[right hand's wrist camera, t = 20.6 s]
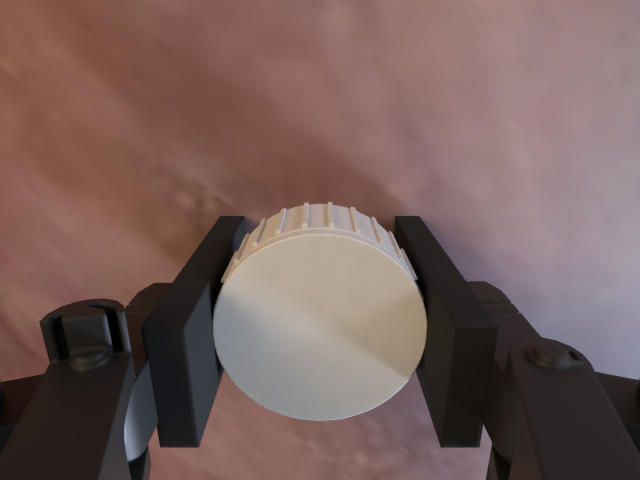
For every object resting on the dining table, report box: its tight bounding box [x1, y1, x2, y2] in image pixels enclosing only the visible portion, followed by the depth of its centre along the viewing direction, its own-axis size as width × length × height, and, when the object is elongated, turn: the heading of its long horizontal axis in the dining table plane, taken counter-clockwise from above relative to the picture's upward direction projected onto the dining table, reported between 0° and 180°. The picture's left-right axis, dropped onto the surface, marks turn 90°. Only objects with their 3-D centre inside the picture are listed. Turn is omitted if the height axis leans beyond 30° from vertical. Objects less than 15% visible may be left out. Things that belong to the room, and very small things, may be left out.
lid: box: [212, 202, 427, 421], centre depth 11 cm, size 5×5×2 cm
